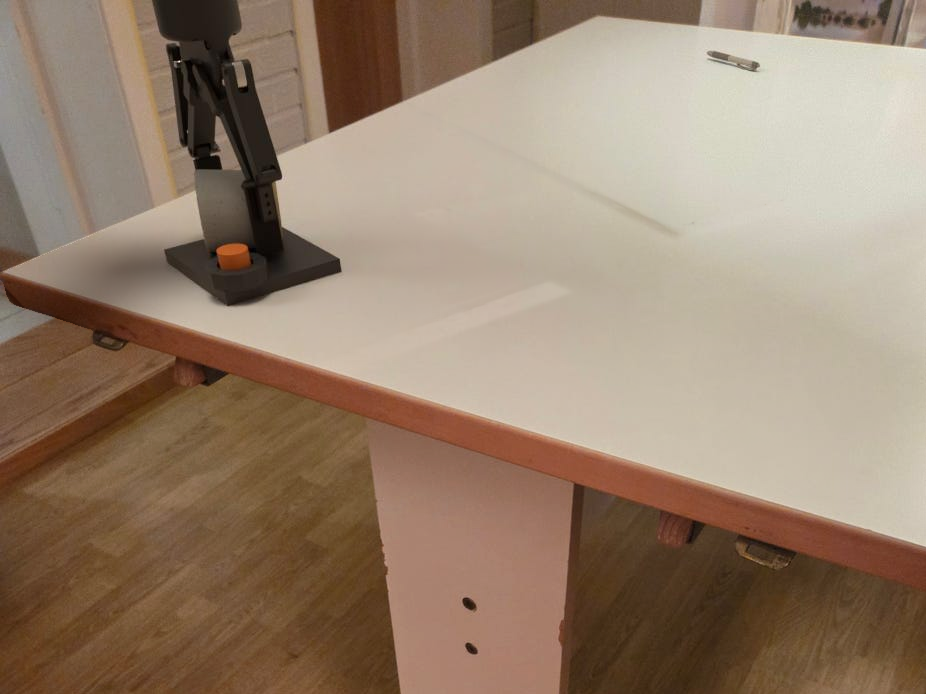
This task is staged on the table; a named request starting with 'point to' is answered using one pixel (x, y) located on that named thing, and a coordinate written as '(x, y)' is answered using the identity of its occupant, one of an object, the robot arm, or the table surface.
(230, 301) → the dark grey flat block
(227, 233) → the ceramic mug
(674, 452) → the table surface
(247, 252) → the button
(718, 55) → the pen
